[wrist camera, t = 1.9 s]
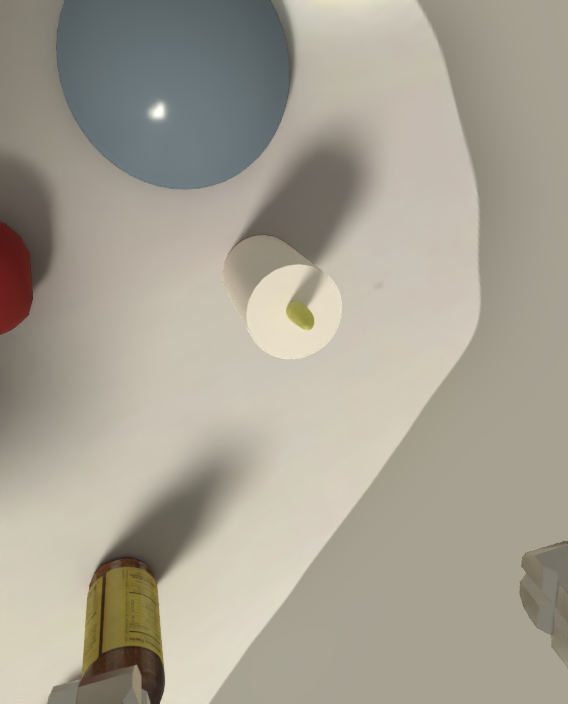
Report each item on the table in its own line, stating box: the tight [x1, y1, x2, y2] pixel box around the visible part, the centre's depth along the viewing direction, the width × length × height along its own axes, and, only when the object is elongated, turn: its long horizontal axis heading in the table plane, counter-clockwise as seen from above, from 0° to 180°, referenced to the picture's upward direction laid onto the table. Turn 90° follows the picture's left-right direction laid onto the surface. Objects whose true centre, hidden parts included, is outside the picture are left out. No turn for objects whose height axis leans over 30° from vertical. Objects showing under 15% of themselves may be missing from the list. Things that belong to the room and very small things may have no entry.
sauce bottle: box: [82, 558, 165, 704], centre depth 42 cm, size 7×6×20 cm
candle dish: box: [56, 0, 290, 189], centre depth 36 cm, size 15×15×2 cm
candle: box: [223, 235, 342, 359], centre depth 37 cm, size 6×6×15 cm
